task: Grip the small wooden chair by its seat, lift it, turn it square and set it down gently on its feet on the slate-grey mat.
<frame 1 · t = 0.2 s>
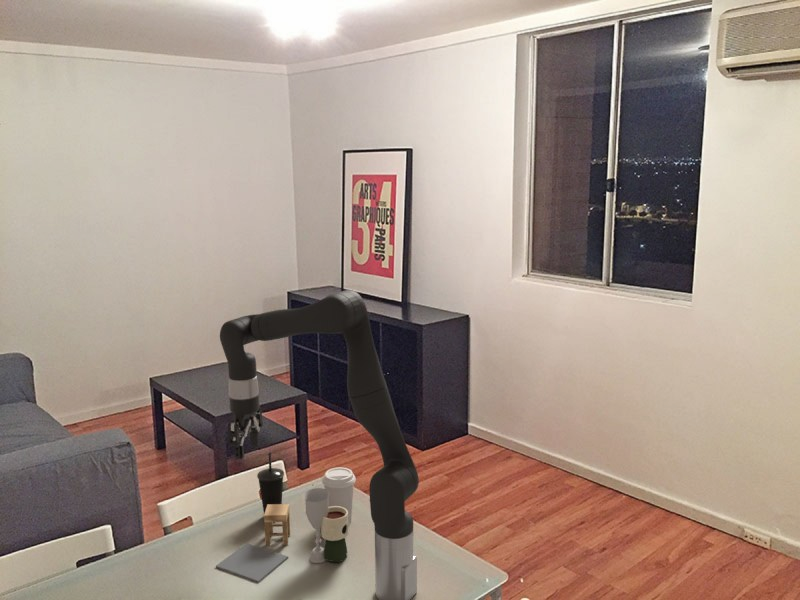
hand: (247, 451, 182), 28 cm above the table, tool pointing down, fingers open, 8 cm apart
mat: (252, 562, 180), on the table
wooden chair: (278, 539, 190), on the table
chalice: (318, 558, 182), on the table, touching character mug
drinking cup: (272, 517, 202), on the table
coffee cup: (340, 521, 200), on the table
character mug: (335, 558, 182), on the table, touching chalice
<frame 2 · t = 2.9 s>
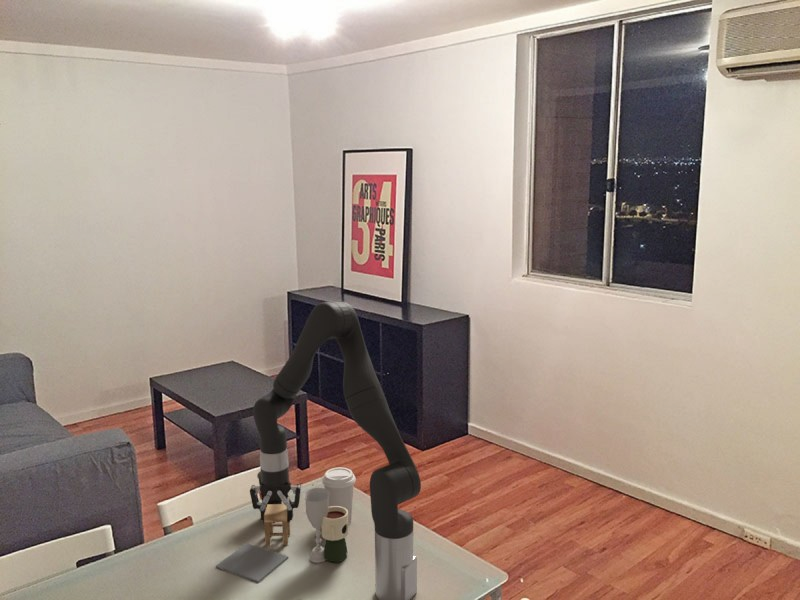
hand: (277, 520, 189), 6 cm above the table, tool pointing down, fingers closed on wooden chair, 6 cm apart
wooden chair: (278, 539, 190), on the table, touching gripper
everything else where it was.
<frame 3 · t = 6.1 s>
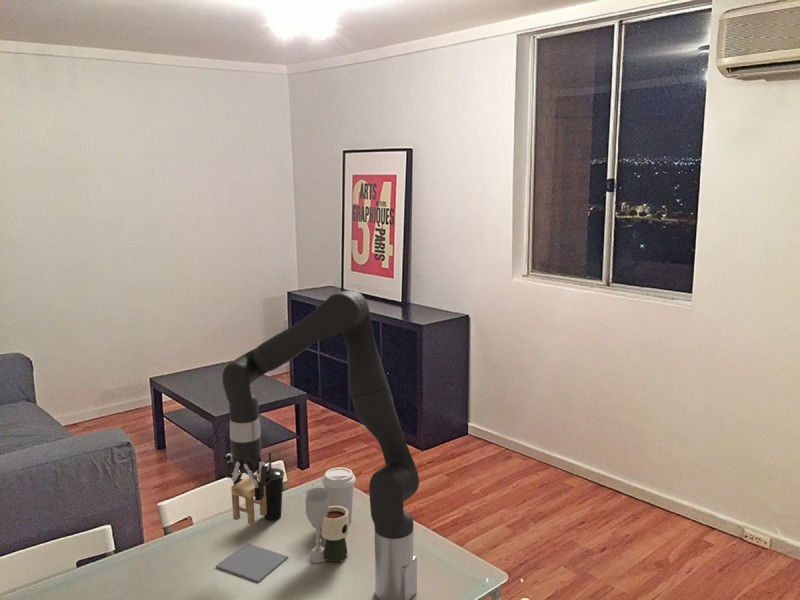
hand: (248, 496, 176), 19 cm above the table, tool pointing down, fingers closed on wooden chair, 6 cm apart
wooden chair: (250, 516, 177), point 13 cm above the table, touching gripper
everything else where it was.
when the fingers open (8 cm above the table, at t = 9.5 s): wooden chair drops 1 cm, resting on mat.
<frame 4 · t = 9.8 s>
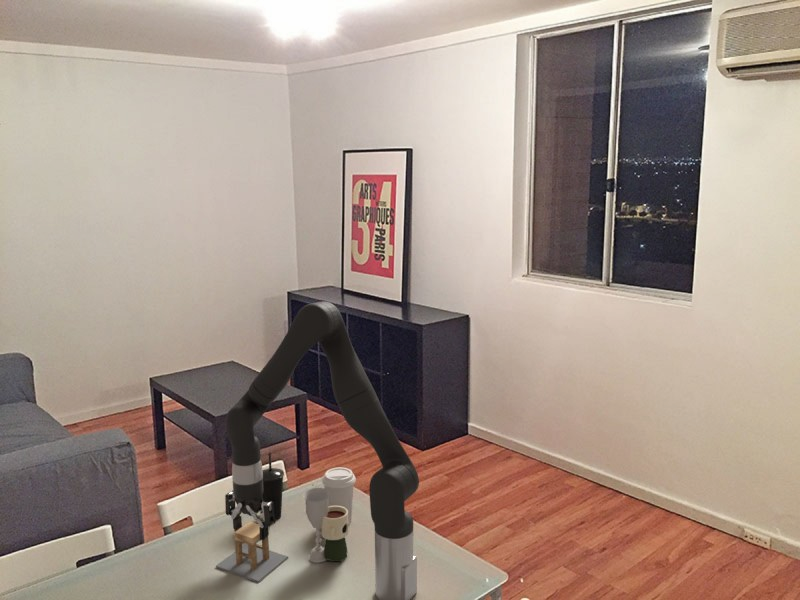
hand: (250, 534, 178), 8 cm above the table, tool pointing down, fingers open, 8 cm apart
wooden chair: (252, 561, 180), resting on mat
everything else where it was.
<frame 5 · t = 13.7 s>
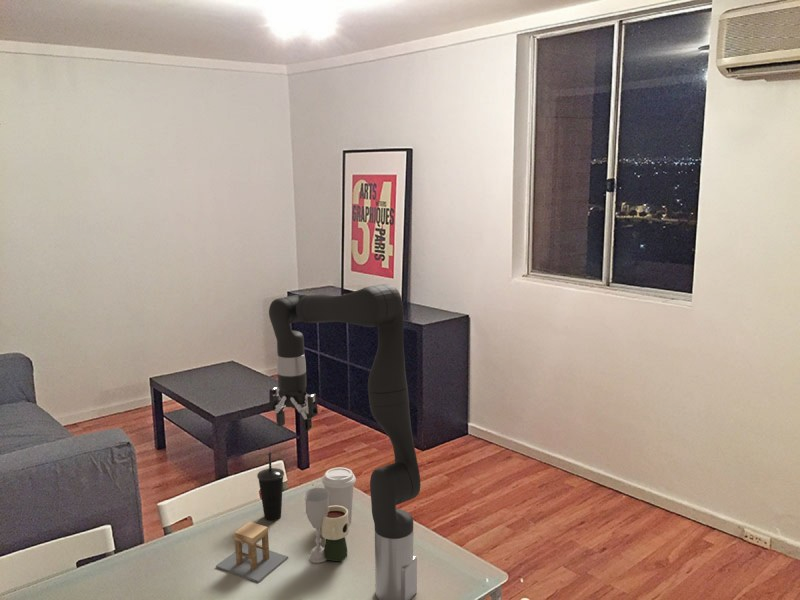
hand: (294, 428, 185), 32 cm above the table, tool pointing down, fingers open, 8 cm apart
chalice: (318, 557, 182), on the table, touching character mug
character mug: (335, 557, 182), on the table, touching chalice
everything else where it was.
at the end: wooden chair inside the target area on the mat (0.1 cm from its centre), point 0.5 cm above the mat's base; wooden chair tilted 0°; the gripper is holding nothing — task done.
